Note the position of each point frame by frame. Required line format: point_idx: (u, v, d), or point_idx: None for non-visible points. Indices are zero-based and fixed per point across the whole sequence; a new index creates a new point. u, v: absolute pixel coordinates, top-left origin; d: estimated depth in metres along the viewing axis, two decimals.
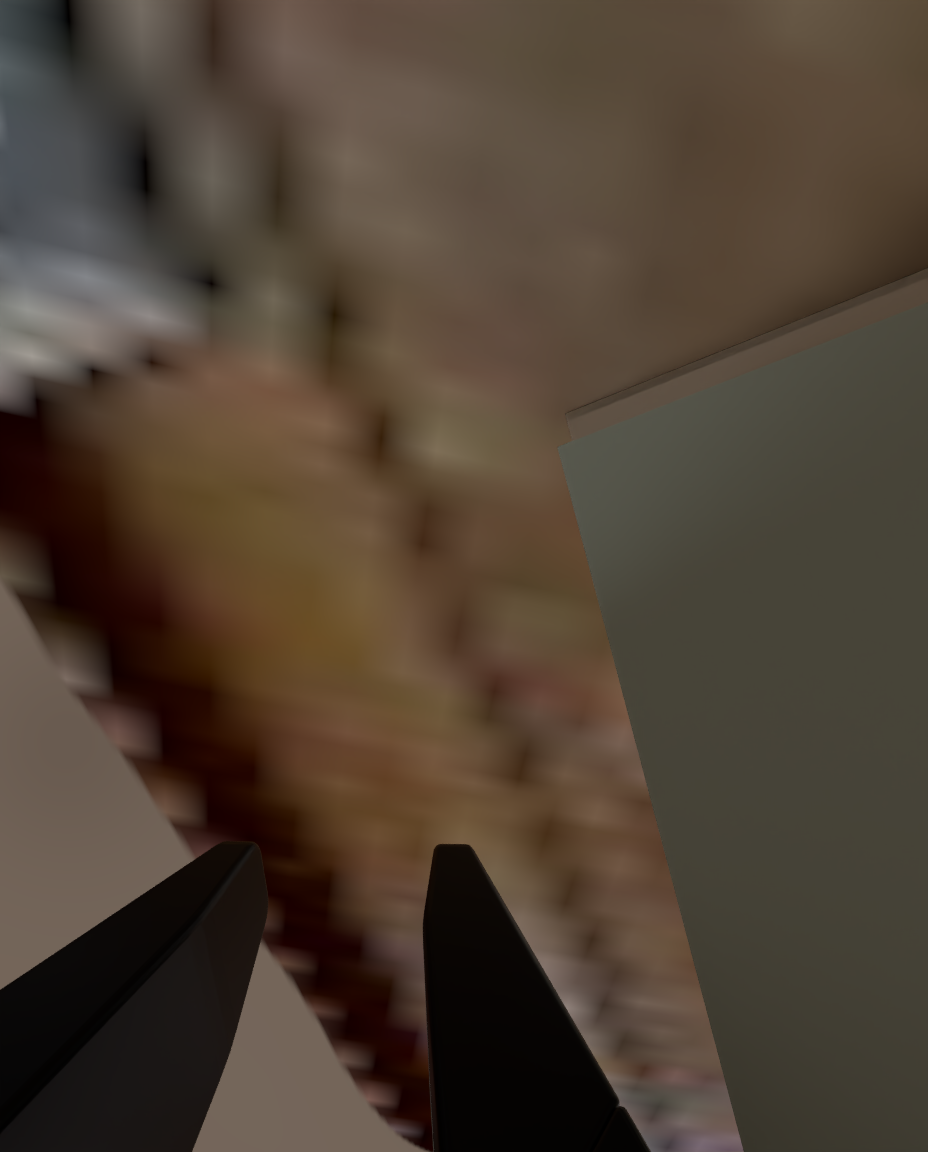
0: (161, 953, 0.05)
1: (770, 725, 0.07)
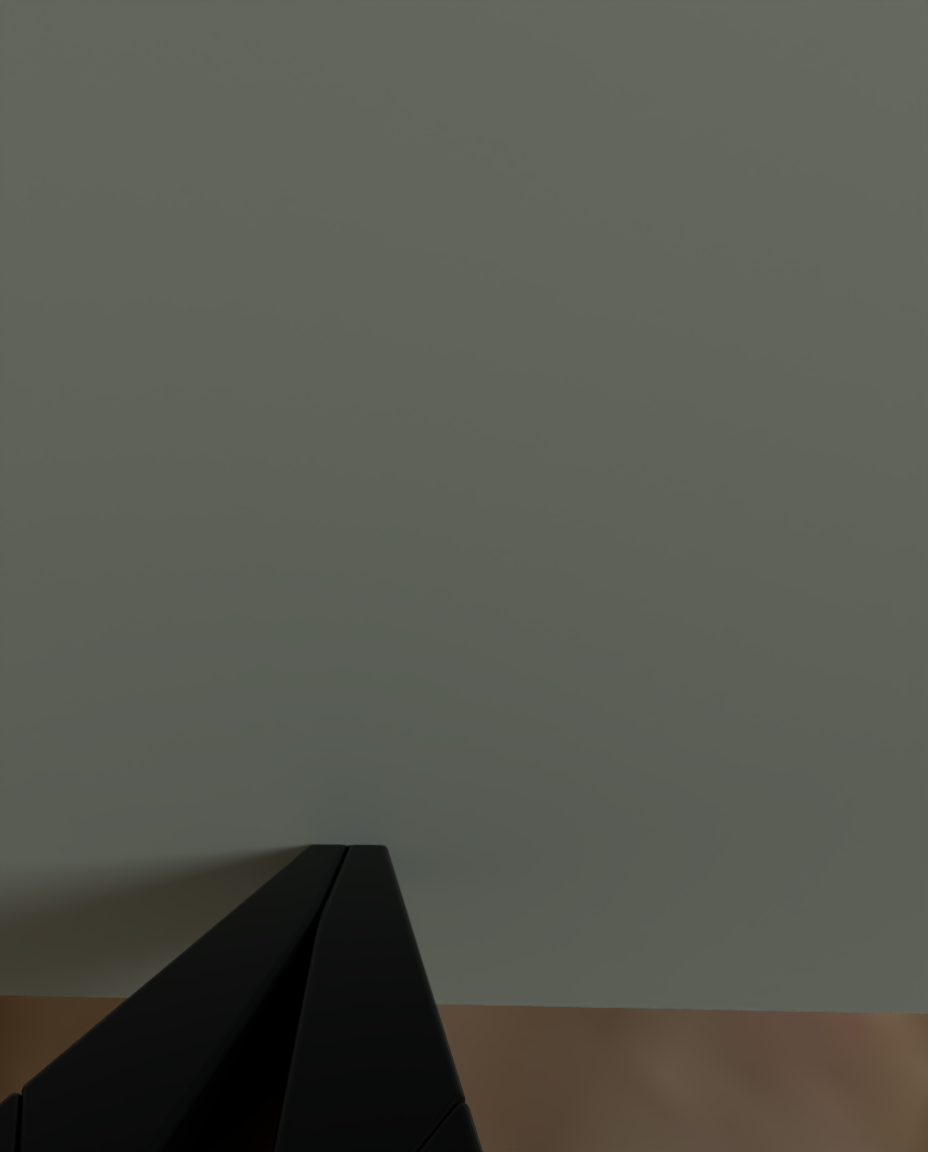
0: (286, 955, 0.05)
1: None
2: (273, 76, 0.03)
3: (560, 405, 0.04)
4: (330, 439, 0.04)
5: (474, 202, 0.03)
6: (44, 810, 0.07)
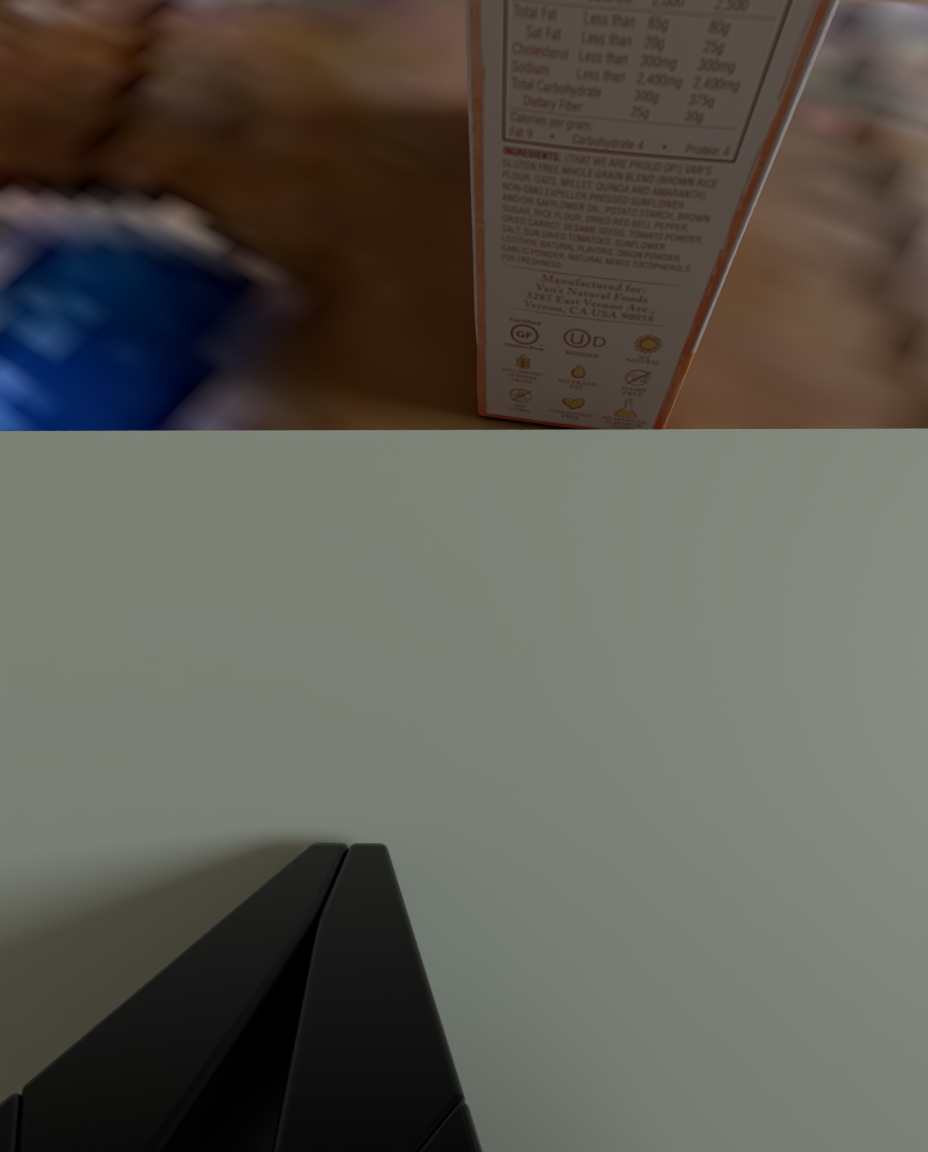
0: (286, 955, 0.05)
1: None
2: (415, 481, 0.09)
3: (517, 595, 0.09)
4: (410, 613, 0.09)
5: (479, 517, 0.09)
6: (82, 988, 0.08)
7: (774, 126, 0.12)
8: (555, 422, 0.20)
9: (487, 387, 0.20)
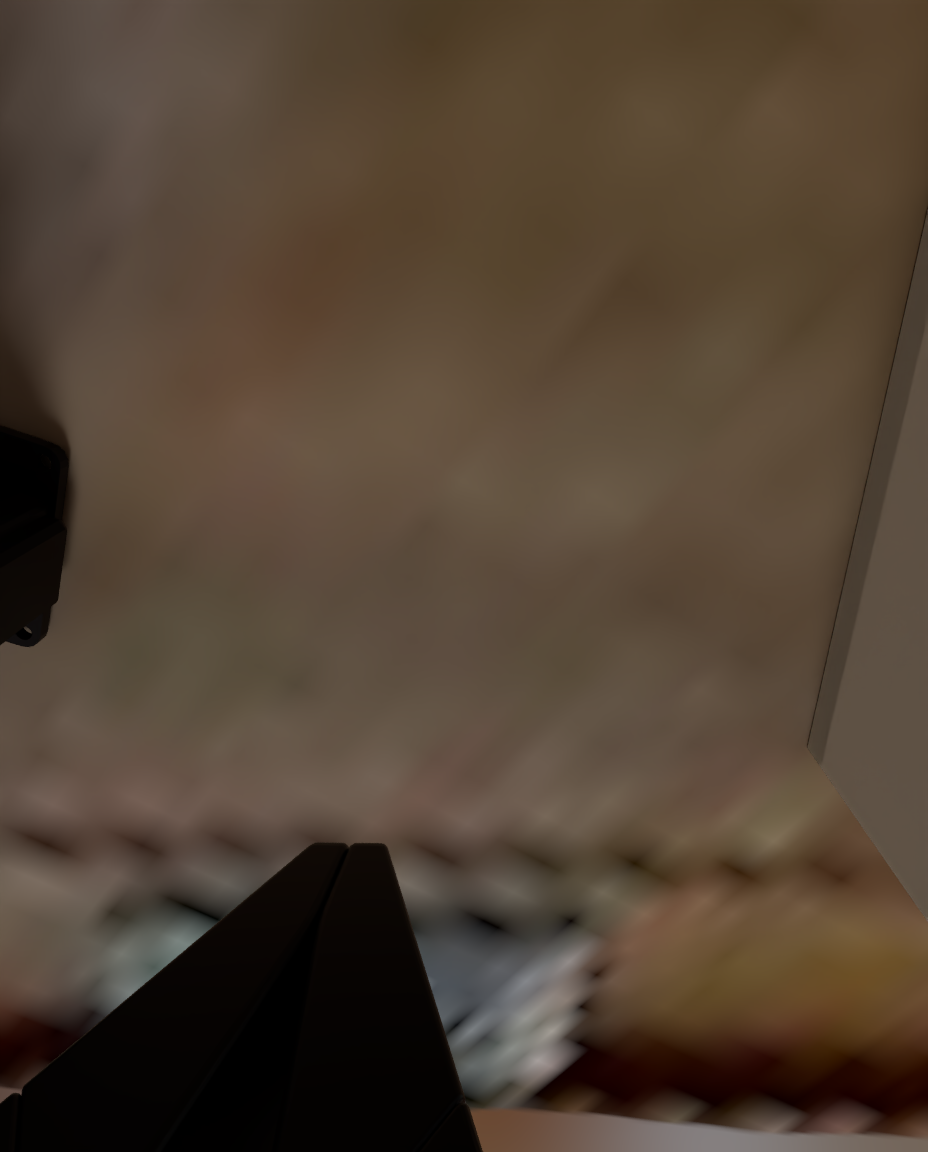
0: (286, 955, 0.05)
1: None
2: None
3: None
4: None
5: None
6: None
7: None
8: None
9: None
